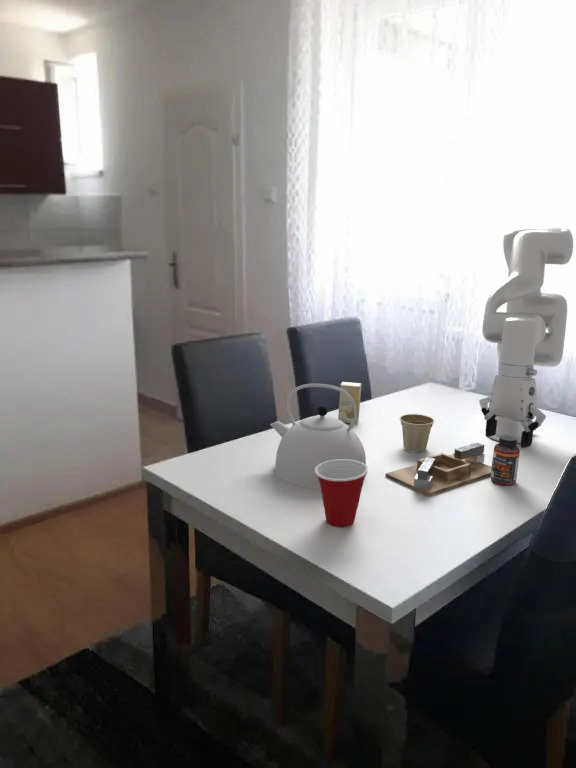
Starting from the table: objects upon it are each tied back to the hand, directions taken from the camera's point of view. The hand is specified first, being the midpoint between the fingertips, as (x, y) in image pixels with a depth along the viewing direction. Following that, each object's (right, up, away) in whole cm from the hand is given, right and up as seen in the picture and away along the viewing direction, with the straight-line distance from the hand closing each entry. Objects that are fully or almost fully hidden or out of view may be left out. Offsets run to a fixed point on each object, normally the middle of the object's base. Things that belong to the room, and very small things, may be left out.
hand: (507, 441), depth 148 cm
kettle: (-45, -8, +8) cm, 47 cm away
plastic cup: (-42, -15, -19) cm, 48 cm away
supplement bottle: (0, -10, +3) cm, 11 cm away
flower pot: (-17, -5, +25) cm, 30 cm away
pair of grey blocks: (-12, -9, +5) cm, 16 cm away
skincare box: (-33, +2, +48) cm, 58 cm away
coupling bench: (-14, -9, +7) cm, 18 cm away
